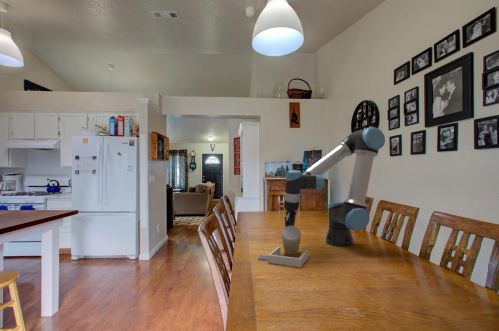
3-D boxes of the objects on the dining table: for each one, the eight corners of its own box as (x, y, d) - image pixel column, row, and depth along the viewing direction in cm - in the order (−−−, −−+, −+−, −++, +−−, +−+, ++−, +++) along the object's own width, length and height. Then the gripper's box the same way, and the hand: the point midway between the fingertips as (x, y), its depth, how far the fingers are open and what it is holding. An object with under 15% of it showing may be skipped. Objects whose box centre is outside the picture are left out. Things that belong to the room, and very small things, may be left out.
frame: (308, 257, 131) (308, 249, 131) (300, 267, 117) (300, 259, 117) (278, 253, 137) (278, 246, 137) (267, 262, 123) (267, 255, 123)
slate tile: (270, 258, 131) (270, 256, 131) (268, 262, 126) (268, 259, 126) (260, 257, 132) (260, 255, 132) (257, 261, 127) (257, 258, 127)
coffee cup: (304, 252, 135) (304, 236, 128) (286, 258, 133) (286, 243, 126) (295, 238, 143) (295, 222, 136) (278, 244, 141) (277, 228, 134)
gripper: (288, 196, 146) (285, 238, 149) (280, 202, 135) (277, 247, 138) (302, 199, 143) (298, 241, 146) (295, 204, 131) (291, 251, 135)
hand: (288, 244), depth 142 cm, fingers closed
